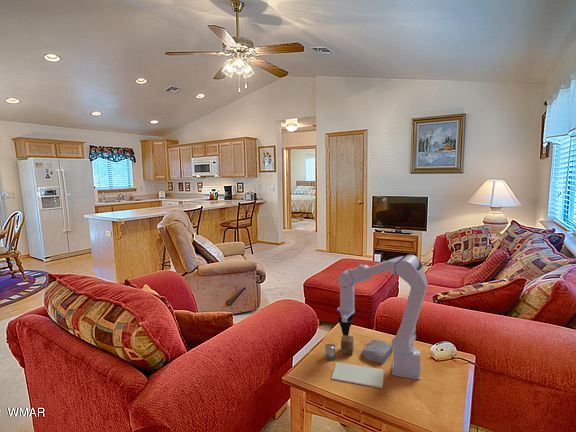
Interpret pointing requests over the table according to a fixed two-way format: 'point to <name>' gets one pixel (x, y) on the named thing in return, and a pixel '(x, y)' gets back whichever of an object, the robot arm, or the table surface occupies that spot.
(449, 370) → the table surface
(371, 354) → the stone block
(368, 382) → the sage mat
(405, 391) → the table surface
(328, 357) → the steel cylinder
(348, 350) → the walnut block
